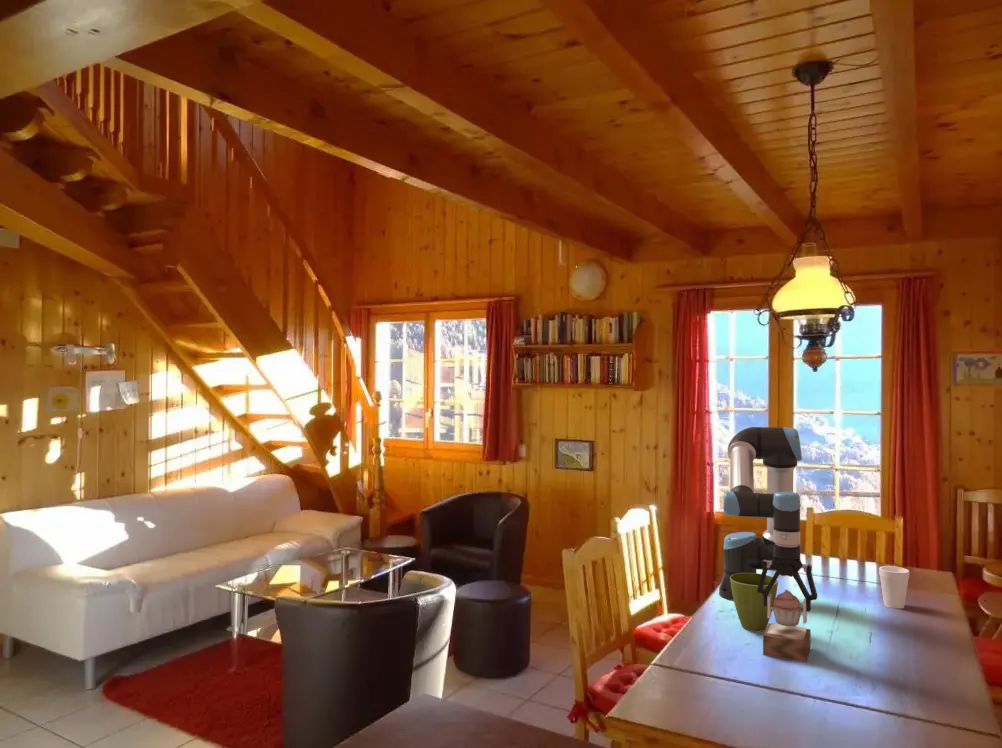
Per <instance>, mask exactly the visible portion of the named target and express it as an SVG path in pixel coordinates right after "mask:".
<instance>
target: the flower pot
mask: <svg viewBox="0 0 1002 748" xmlns="http://www.w3.org/2000/svg"><path fill="white" fill-rule="evenodd" d="M761 574H762V573H757V572H756V573H737V574H733V575H731V576H730V582H731V589H732V594H733V599H734V600H733V602H734V607H735V610H736V613H737V617H738V619H739V622H740V624H741V627H742V628H743V629H744V630H747V631H750V632H763V630H764V631H765V630H766V628H767V626H768V624H769V623H770V619H771V618H767V606H764V596H763V594H761V593H758V592H757V589H758V585H759V582H760V578H761ZM772 578H773V576H771V575H768V574H766V578H765V582H764V586H763V589H766V588H767V586H768V584H769V583H770V581H771V579H772ZM778 584H779V579H777V580H776V581H775V583H774V585H773V586H772V588H771V590H770V591H769V593H768V594H771V604H774V602H773V601H774V599H775V598H776V597H777V593H778ZM771 606H772V605H771ZM772 612H773V610H772V608H771V614H773V613H772Z"/></svg>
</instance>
